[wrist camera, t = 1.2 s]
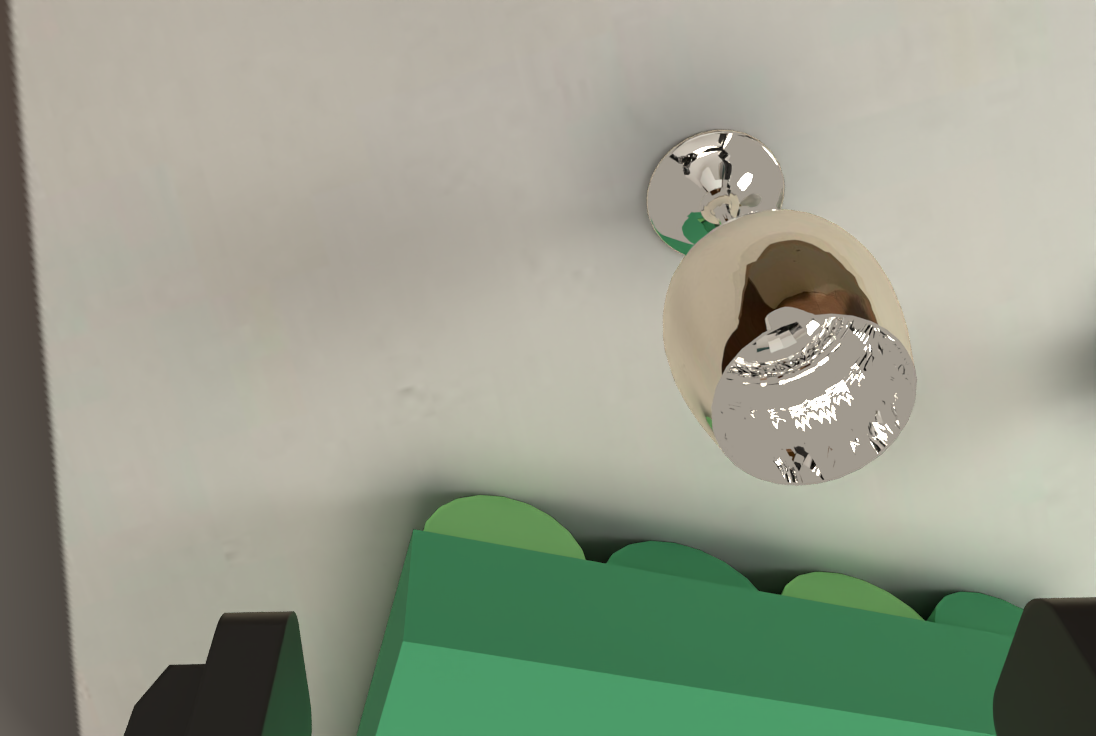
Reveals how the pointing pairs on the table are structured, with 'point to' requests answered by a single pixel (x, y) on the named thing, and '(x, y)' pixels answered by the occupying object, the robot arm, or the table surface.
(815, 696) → the toy tank
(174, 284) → the table surface
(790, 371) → the wineglass
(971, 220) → the table surface
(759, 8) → the table surface
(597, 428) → the table surface
